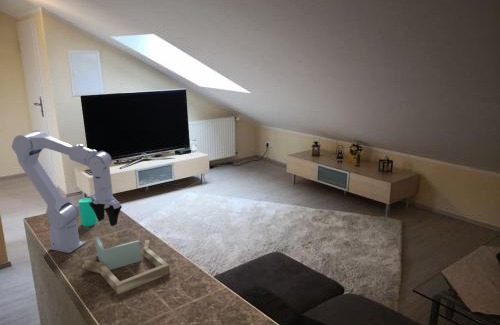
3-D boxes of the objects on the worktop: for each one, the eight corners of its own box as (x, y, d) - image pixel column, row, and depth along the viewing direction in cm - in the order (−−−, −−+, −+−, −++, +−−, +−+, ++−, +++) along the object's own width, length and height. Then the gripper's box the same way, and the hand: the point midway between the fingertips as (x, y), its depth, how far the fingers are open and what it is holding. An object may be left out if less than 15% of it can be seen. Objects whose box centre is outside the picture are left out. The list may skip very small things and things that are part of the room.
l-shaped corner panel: (141, 261, 129) (138, 241, 127) (104, 271, 123) (101, 251, 121) (131, 246, 139) (129, 228, 137) (97, 256, 133) (94, 236, 131)
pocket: (85, 269, 124) (83, 261, 123) (149, 246, 138) (148, 239, 137) (108, 298, 109) (107, 289, 108) (177, 269, 123) (177, 261, 122)
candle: (93, 226, 156) (89, 199, 153) (79, 226, 157) (75, 199, 153) (99, 220, 162) (95, 193, 159) (85, 220, 162) (81, 194, 159)
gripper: (80, 186, 132) (85, 221, 136) (105, 194, 124) (109, 231, 128) (98, 180, 138) (103, 214, 142) (123, 188, 130) (127, 224, 133)
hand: (107, 222), depth 135 cm, fingers open, 7 cm apart
